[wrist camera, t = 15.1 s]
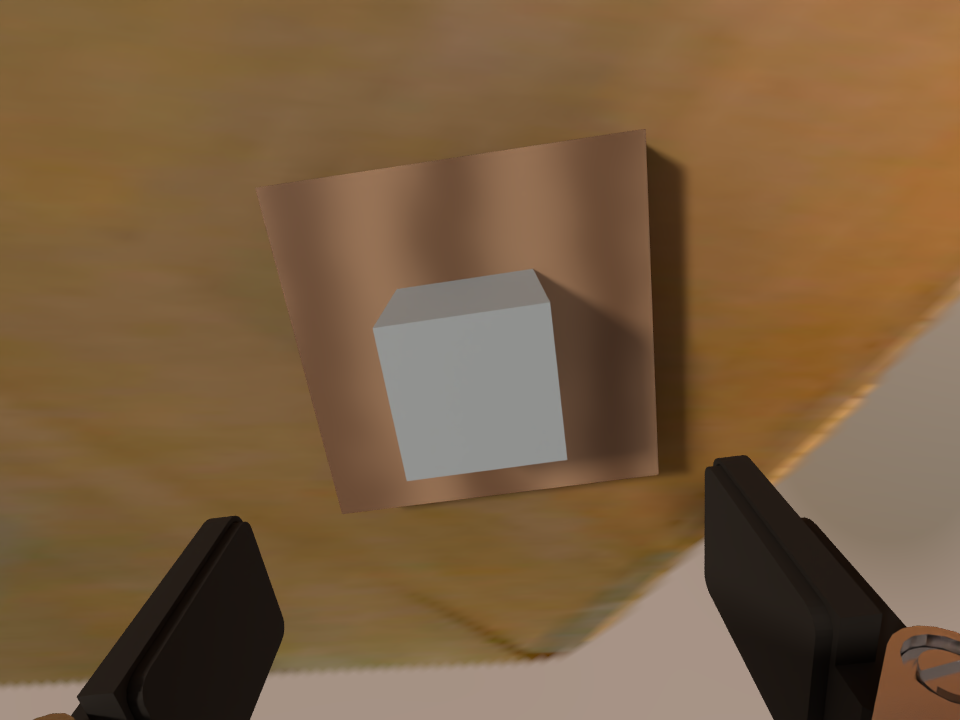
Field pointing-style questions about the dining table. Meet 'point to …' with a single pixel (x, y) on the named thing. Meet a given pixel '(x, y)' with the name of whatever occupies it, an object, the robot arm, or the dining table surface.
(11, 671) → the dining table surface
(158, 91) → the dining table surface
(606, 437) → the walnut base
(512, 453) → the light grey cube
